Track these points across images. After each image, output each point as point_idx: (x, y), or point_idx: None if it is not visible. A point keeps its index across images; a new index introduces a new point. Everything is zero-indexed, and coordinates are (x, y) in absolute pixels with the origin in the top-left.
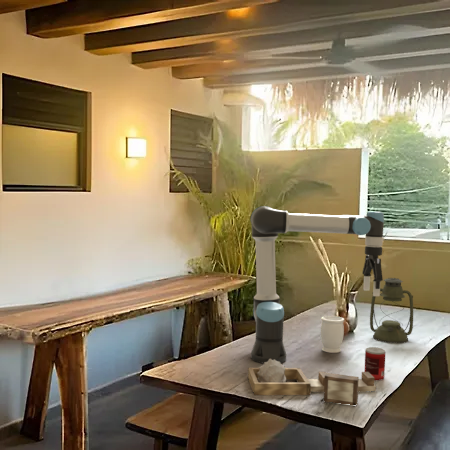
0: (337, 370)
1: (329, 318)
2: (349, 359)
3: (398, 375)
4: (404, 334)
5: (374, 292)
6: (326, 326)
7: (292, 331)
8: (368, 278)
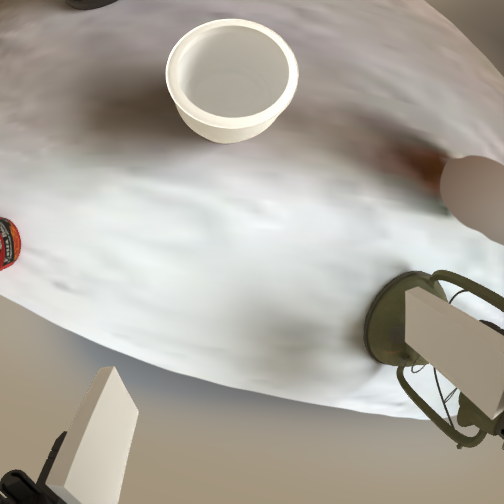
0: (27, 144)
1: (287, 64)
2: (130, 172)
3: (36, 304)
4: (392, 364)
5: (91, 395)
6: (185, 54)
7: (416, 37)
8: (483, 392)
